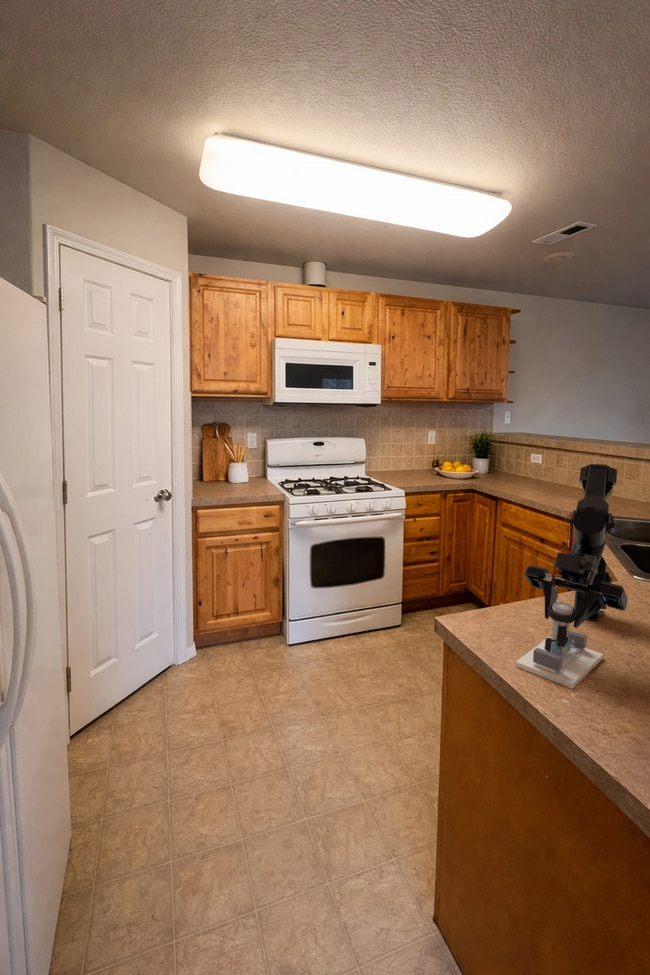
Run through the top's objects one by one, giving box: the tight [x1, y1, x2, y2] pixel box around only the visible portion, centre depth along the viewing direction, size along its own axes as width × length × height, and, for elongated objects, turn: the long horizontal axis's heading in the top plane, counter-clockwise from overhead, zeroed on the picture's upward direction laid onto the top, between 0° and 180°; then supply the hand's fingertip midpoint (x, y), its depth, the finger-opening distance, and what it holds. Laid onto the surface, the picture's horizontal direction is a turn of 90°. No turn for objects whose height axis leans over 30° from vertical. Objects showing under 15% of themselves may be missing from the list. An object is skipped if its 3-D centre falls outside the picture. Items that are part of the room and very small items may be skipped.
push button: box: [545, 601, 577, 654], centre depth 97 cm, size 7×5×10 cm
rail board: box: [515, 629, 604, 690], centre depth 98 cm, size 16×11×4 cm
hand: (560, 622), depth 96 cm, fingers closed on push button, 5 cm apart
